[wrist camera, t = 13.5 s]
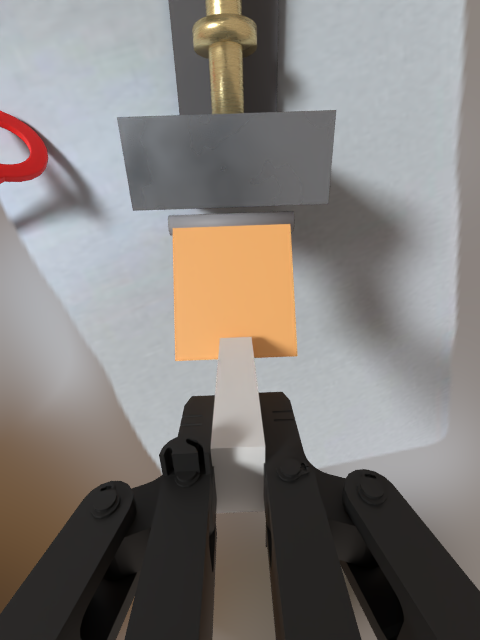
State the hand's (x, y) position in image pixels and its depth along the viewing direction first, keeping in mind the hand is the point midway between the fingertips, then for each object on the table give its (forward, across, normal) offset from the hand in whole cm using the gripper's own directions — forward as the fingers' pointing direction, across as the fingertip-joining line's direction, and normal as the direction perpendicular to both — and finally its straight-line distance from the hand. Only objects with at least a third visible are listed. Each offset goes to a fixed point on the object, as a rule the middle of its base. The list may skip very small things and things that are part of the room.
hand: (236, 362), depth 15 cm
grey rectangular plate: (+18, 0, +9) cm, 20 cm away
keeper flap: (+4, 0, +6) cm, 7 cm away
